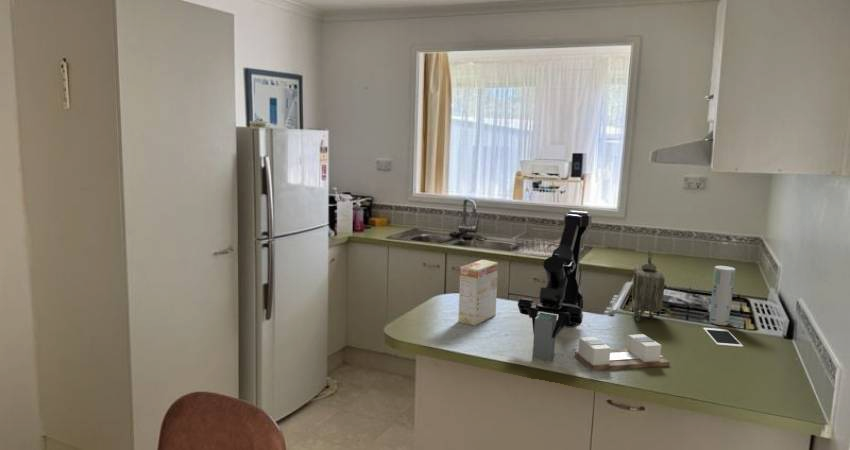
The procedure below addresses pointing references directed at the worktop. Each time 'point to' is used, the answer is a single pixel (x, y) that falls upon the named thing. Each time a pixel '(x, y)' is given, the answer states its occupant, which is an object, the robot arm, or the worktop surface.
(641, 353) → the mounted modules
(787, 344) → the worktop surface
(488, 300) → the coffeecake box
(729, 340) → the cell phone
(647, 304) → the mop head
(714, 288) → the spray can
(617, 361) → the rail board
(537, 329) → the block
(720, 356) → the worktop surface
